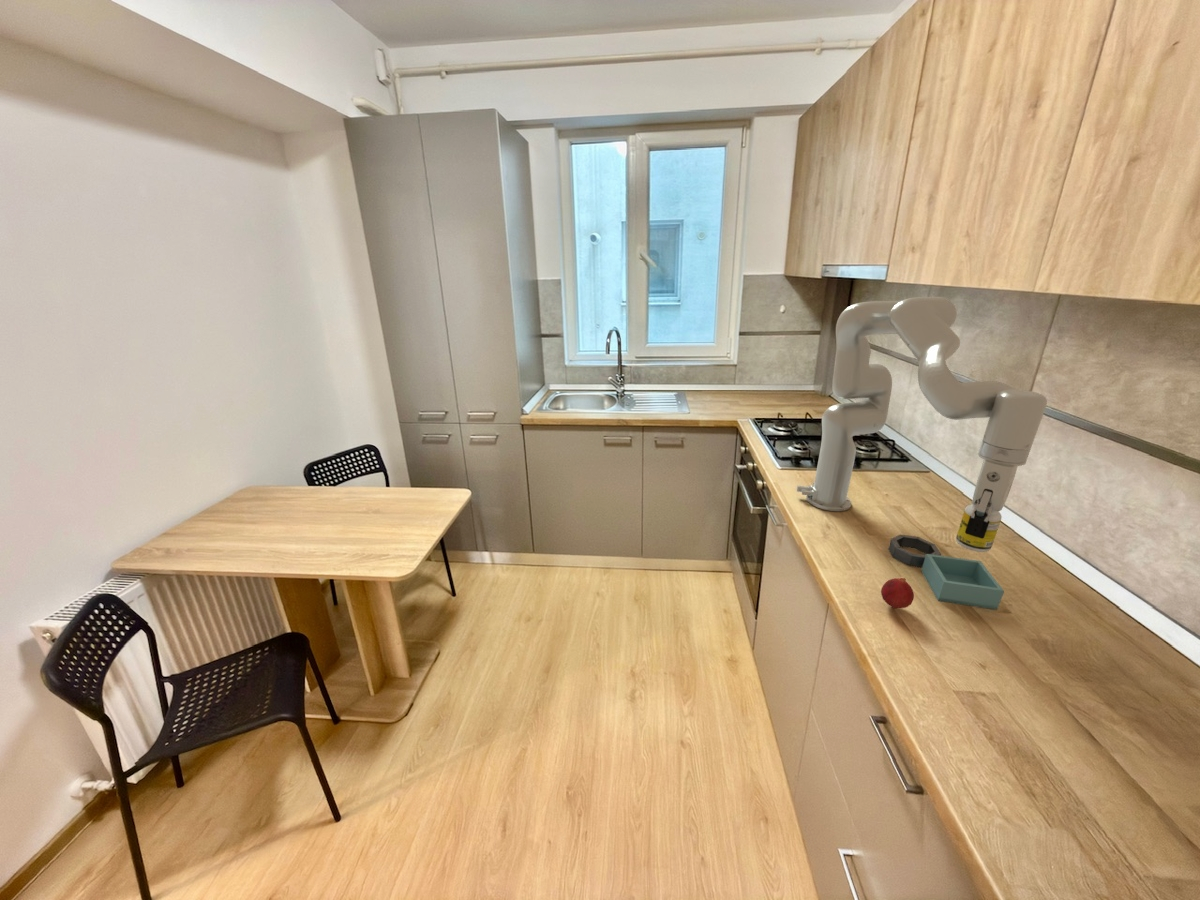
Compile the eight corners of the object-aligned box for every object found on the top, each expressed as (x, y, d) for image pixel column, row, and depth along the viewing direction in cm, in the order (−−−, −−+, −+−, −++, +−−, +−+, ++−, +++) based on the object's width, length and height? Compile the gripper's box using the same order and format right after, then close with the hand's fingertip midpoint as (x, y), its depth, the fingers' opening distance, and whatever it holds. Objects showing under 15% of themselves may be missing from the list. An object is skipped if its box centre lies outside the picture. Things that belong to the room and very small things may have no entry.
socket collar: (896, 564, 115) (898, 554, 114) (885, 542, 124) (887, 532, 123) (942, 570, 113) (945, 560, 111) (928, 548, 122) (931, 538, 120)
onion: (880, 612, 99) (888, 582, 96) (876, 596, 104) (884, 566, 101) (911, 619, 97) (921, 588, 94) (906, 602, 102) (915, 572, 99)
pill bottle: (955, 534, 106) (968, 490, 102) (989, 543, 102) (1005, 498, 98) (954, 547, 101) (969, 501, 97) (991, 556, 98) (1007, 510, 94)
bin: (937, 600, 103) (944, 582, 101) (921, 571, 113) (926, 553, 111) (996, 610, 100) (1004, 590, 98) (974, 578, 110) (980, 561, 108)
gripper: (1021, 469, 86) (992, 552, 92) (1033, 445, 97) (1006, 521, 103) (971, 458, 91) (946, 538, 97) (987, 436, 102) (964, 509, 108)
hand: (977, 528), depth 100 cm, fingers closed on pill bottle, 6 cm apart
